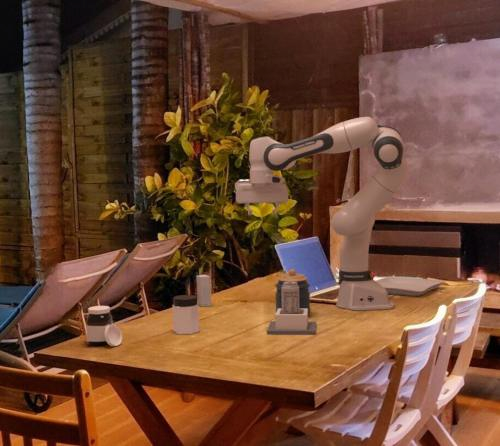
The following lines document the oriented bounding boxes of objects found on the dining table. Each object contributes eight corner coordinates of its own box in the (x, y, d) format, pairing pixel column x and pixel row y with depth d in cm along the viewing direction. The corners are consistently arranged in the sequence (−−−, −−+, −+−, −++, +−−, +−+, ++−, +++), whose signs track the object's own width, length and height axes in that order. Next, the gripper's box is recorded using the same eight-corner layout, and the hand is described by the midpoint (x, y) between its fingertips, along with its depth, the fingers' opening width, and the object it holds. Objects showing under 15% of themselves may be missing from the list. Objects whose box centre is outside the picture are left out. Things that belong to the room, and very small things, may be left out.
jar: (202, 332, 241) (201, 298, 240) (179, 335, 238) (178, 300, 237) (192, 327, 249) (191, 293, 248) (170, 330, 246) (169, 296, 245)
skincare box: (211, 306, 285) (211, 276, 284) (201, 307, 284) (200, 277, 282) (207, 303, 291) (206, 274, 290) (196, 304, 289) (196, 274, 288)
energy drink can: (300, 324, 246) (299, 281, 244) (298, 328, 240) (298, 284, 238) (283, 323, 247) (282, 280, 245) (281, 327, 241) (280, 284, 239)
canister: (317, 315, 264) (317, 268, 263) (295, 321, 255) (294, 272, 253) (290, 310, 273) (289, 265, 271) (268, 316, 264) (267, 269, 262)
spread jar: (92, 339, 236) (91, 304, 235) (126, 339, 235) (125, 304, 234) (83, 349, 224) (81, 312, 223) (118, 348, 223) (117, 312, 222)
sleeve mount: (316, 324, 249) (316, 307, 248) (315, 334, 235) (314, 316, 235) (270, 324, 251) (270, 307, 250) (266, 334, 237) (266, 316, 237)
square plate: (387, 283, 329) (387, 275, 328) (445, 289, 313) (445, 280, 312) (361, 293, 307) (361, 284, 306) (421, 299, 291) (421, 290, 291)
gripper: (233, 179, 272) (234, 215, 274) (287, 178, 270) (287, 214, 271) (235, 179, 279) (236, 214, 280) (287, 178, 276) (288, 213, 278)
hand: (262, 214), depth 276 cm, fingers open, 8 cm apart
